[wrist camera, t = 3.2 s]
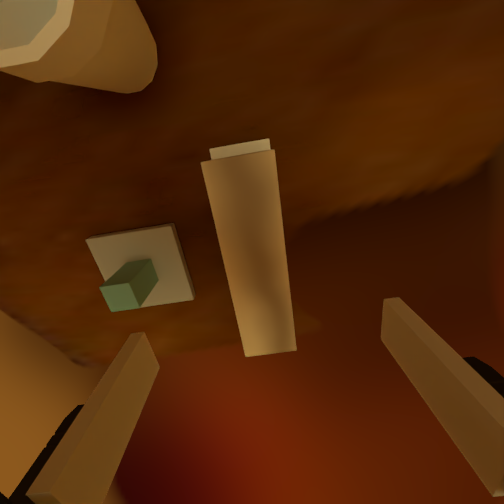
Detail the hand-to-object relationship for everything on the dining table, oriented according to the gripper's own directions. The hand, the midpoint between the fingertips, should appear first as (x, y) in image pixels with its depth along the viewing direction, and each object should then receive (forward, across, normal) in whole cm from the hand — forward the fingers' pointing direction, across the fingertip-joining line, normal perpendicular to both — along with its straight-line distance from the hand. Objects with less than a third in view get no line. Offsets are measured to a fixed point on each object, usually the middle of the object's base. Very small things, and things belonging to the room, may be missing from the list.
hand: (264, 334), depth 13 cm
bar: (+12, 0, 0) cm, 12 cm away
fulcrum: (+16, -14, -2) cm, 22 cm away
